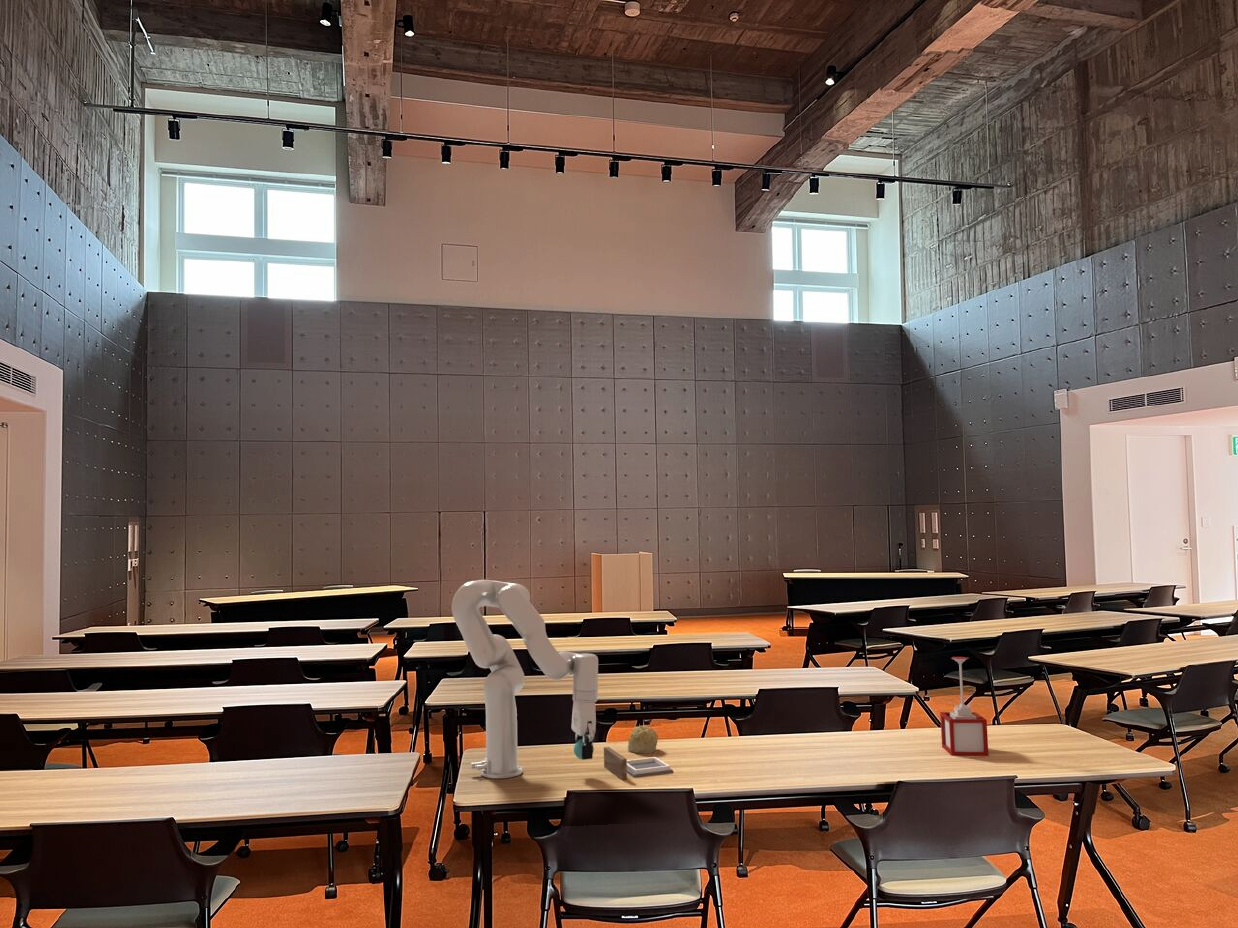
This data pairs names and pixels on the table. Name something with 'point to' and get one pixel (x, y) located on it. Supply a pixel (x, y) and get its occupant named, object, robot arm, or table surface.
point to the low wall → (615, 763)
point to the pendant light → (963, 728)
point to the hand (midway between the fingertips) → (583, 755)
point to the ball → (579, 749)
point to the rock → (642, 740)
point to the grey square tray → (647, 767)
